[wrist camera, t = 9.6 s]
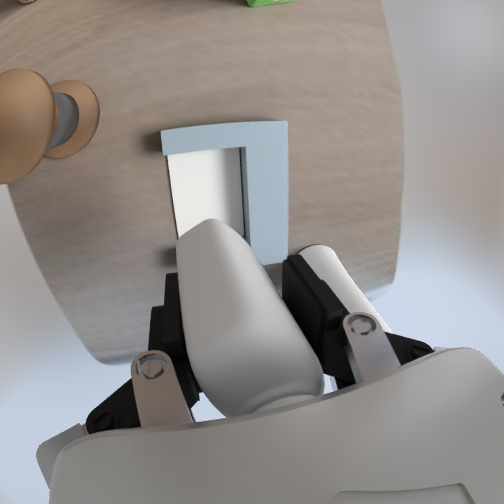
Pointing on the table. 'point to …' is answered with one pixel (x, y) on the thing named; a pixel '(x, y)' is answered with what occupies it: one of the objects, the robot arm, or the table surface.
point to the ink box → (266, 2)
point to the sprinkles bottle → (26, 1)
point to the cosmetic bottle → (339, 280)
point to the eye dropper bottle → (240, 326)
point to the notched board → (233, 180)
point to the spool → (42, 120)
